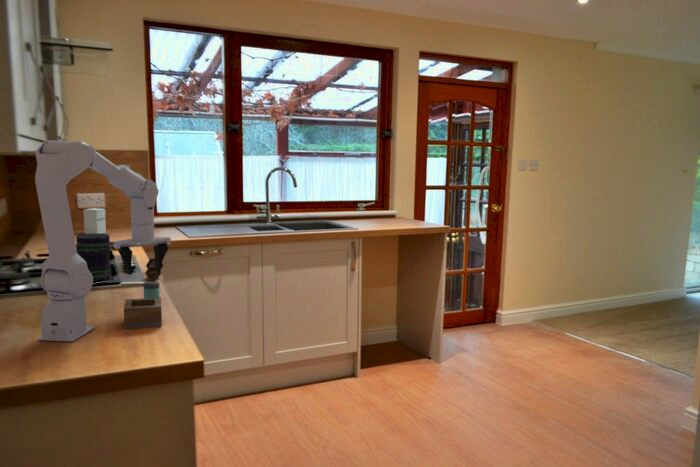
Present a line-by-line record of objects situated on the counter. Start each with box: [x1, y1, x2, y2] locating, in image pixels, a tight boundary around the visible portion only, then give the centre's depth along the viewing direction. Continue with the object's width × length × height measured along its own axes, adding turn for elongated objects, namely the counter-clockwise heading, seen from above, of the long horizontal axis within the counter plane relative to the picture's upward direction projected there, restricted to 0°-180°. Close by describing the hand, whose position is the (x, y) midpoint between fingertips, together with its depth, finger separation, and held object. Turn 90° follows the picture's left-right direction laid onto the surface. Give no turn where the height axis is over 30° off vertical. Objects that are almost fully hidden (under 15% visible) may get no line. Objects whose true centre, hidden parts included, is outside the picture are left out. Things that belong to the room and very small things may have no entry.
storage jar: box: [75, 233, 112, 283], centre depth 165 cm, size 10×10×15 cm
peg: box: [142, 280, 161, 299], centre depth 139 cm, size 4×4×7 cm
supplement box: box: [83, 207, 107, 234], centre depth 260 cm, size 7×7×13 cm
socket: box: [123, 297, 163, 330], centre depth 127 cm, size 8×8×5 cm
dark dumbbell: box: [145, 257, 164, 281], centre depth 175 cm, size 6×5×15 cm
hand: (143, 272), depth 140 cm, fingers open, 7 cm apart
